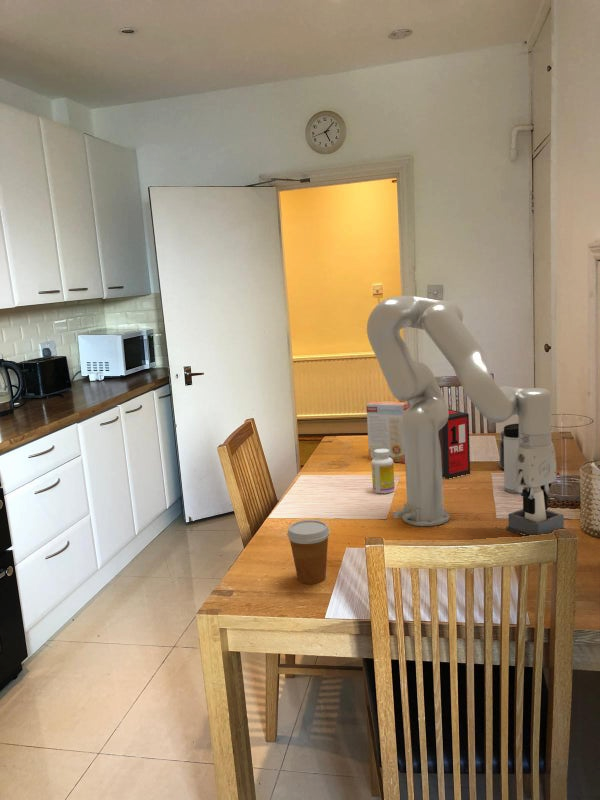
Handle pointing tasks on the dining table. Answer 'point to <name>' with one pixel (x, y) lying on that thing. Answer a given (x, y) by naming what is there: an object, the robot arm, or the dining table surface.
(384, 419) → the cracker box
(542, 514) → the pepper shaker
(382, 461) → the supplement bottle
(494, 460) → the dining table surface
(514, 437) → the travel mug
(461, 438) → the cleaning product box
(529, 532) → the grey square tray
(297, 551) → the disposable coffee cup
